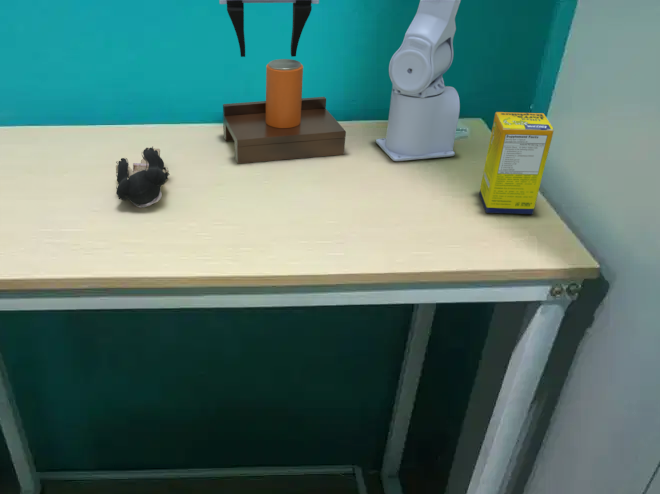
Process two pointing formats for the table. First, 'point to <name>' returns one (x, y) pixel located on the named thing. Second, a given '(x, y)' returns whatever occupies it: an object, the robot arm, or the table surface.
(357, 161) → the table surface
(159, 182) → the toy figure
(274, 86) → the can
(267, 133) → the shelf
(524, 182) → the supplement box
